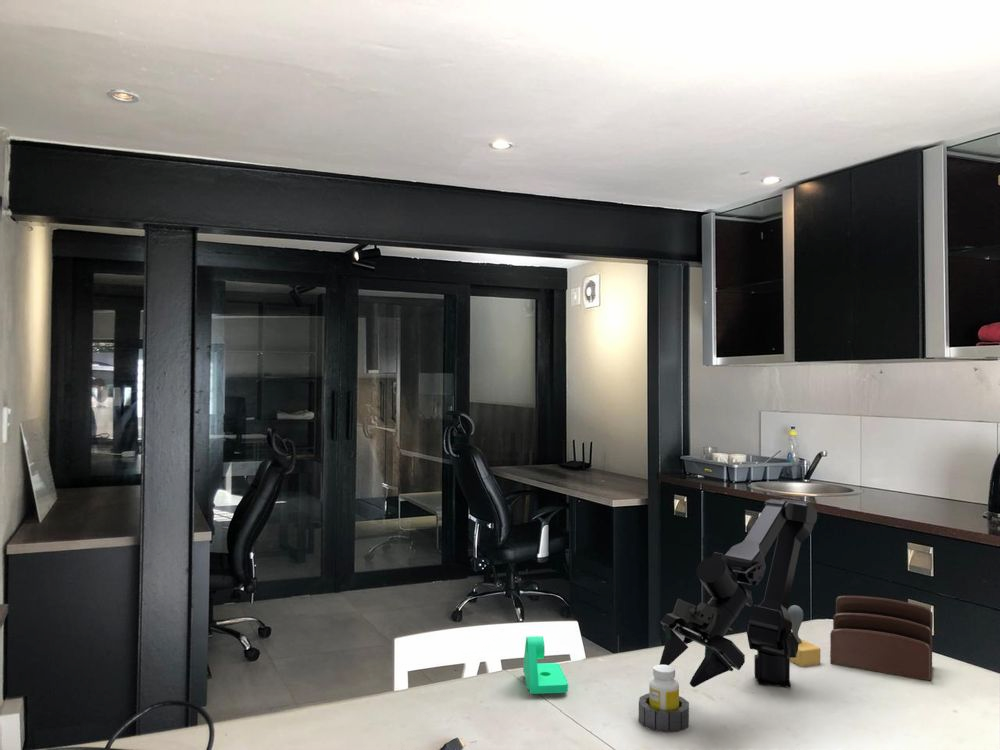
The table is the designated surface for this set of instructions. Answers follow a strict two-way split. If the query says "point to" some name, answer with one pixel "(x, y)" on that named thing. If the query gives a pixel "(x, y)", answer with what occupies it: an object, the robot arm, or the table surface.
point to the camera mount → (542, 670)
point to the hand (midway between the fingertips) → (675, 676)
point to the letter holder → (882, 636)
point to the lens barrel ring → (664, 716)
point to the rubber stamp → (802, 641)
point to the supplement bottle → (664, 688)
